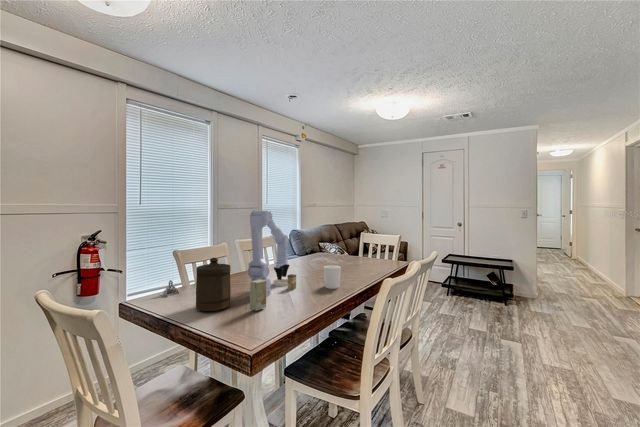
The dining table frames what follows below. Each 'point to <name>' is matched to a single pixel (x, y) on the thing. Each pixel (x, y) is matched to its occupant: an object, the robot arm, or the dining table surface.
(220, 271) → the wooden container
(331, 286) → the candle holder
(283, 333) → the dining table surface
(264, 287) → the skincare box
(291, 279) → the brown rectangular block
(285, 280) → the jar dish
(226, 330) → the dining table surface
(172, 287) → the house of cards
